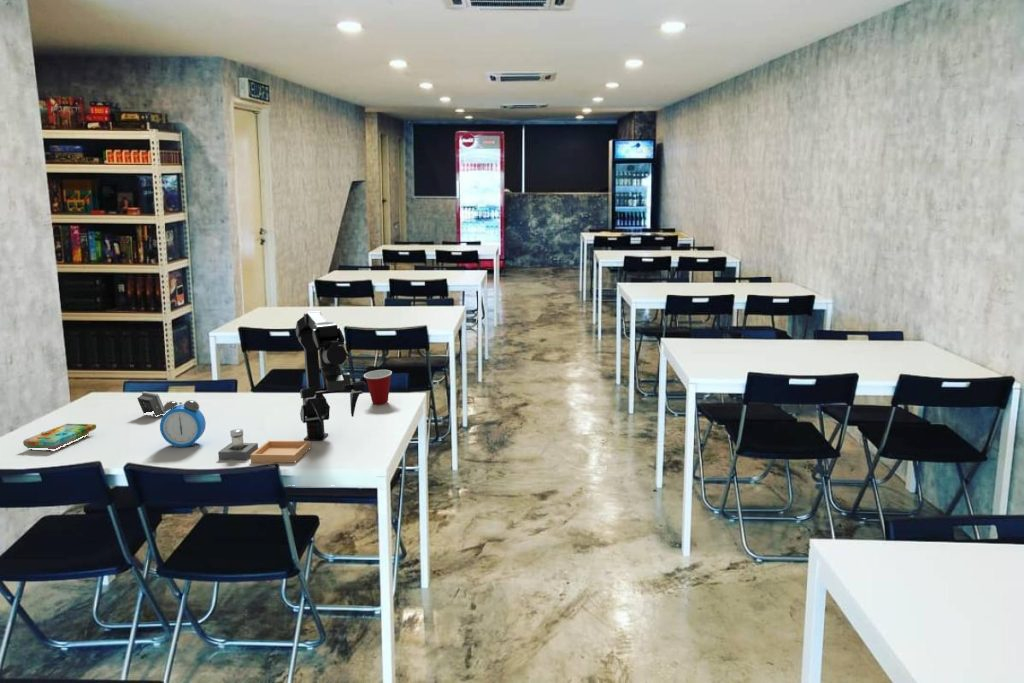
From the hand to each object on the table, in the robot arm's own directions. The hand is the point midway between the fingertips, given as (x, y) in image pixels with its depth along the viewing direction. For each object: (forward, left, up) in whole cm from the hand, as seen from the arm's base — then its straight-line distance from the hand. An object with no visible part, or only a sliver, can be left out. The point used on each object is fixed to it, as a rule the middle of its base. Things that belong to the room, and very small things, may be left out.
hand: (336, 418), depth 245 cm
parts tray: (-11, -22, -15) cm, 29 cm away
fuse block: (-11, -36, -15) cm, 41 cm away
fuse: (-11, -36, -15) cm, 41 cm away
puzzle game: (-23, -104, -16) cm, 108 cm away
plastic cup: (-73, -7, -15) cm, 75 cm away
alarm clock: (-21, -59, -15) cm, 65 cm away
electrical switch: (-55, -89, -15) cm, 106 cm away
